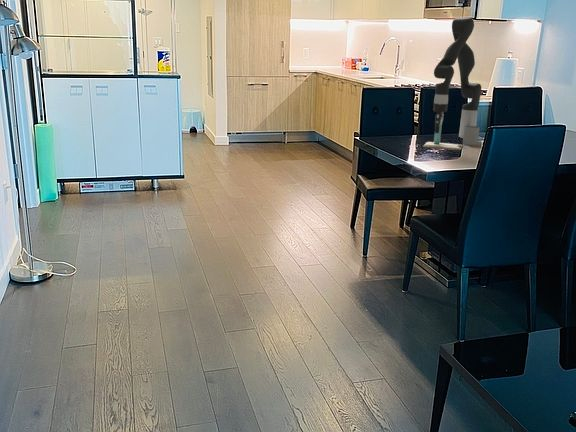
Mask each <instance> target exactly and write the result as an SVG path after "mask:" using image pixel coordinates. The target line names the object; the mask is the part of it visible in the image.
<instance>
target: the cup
mask: <svg viewBox="0 0 576 432" xmlns="http://www.w3.org/2000/svg"><path fill="white" fill-rule="evenodd" d="M479 136H480V126H477V125H476V126H465V127H464V135H463V138H462V145H465V144H466V146H478V144H479V142H478V141H479Z"/></svg>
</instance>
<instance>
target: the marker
mask: <svg viewBox="0 0 576 432" xmlns="http://www.w3.org/2000/svg"><path fill="white" fill-rule="evenodd" d="M442 125H443V123H442V122H441V123H440V128H439V133H435V132H434V134H433V135H434V136H433V142H434V144H439V143H441V136H442V135H441V134H442Z"/></svg>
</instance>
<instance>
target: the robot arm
mask: <svg viewBox="0 0 576 432" xmlns="http://www.w3.org/2000/svg"><path fill="white" fill-rule="evenodd" d="M474 27H475V23H474V19H473V18H472V17H455V18H453V20H452V23H451V31H452V35H453V36H452V37H453V40H454V41H453V42H452V43H451V44H450V45H449V46H448V47H447V48H446V50H445V53H444V55H443V58H441V60H440V61H439V62H438V63H437V65H436V66H435V68H434V70H433V76H434V77H435V78H436V79H439V80H440V79H441V80H444V81H443V82H440V83H439V82H438V83H437V84H436V85H435V91H434V92H435V93H434V99H433V110H432V111H433V112H436V114H435V115H434V116H435V119H434V126H435V127H434V129H435V130H434V134H435V133H439V128H440V123H441V122H442V124H443V122H444V116H445V114H444V113H446V112H447V111H448V104H449V91H450V85H451V84H452V83H451V82H452V80H453V77H454V74H455V69H454V67H453V66H454V65H455V64H456V61H457V64H458V69H459V76H460V77H459V78H460V91H461V96H462V98H464V99H471V100H470V101H469V102H468V103H465V104H463V105H462V108H461V115H460V116H461V117H460V124H459V125H460V126H459V132H458V138H459V137H460V138H459V139H463V135H464V127H465V126H477V117H478V110H479V106H480V99H481V95H482V84H481V83H477V82H469V77H470V74H471V73H472V70H473V69H474V67H475V64H476V61H475V53H474V51H473V49H472V48H471V47H470V46H469V45H468V44H467V41H468V39H470V37H471V35H472V33H473V31H474V29H475V28H474Z"/></svg>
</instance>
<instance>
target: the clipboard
mask: <svg viewBox="0 0 576 432" xmlns="http://www.w3.org/2000/svg"><path fill="white" fill-rule="evenodd" d="M424 143H425V144H424V145H422V147H423V148H429V149H431V148H432V149H441V150H442V149H443V150H453V151H461V150H462V149H463V146H464V144H461V143H460V144H459V143H449V142H440V143H439V144H434V141H426V142H424Z"/></svg>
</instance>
